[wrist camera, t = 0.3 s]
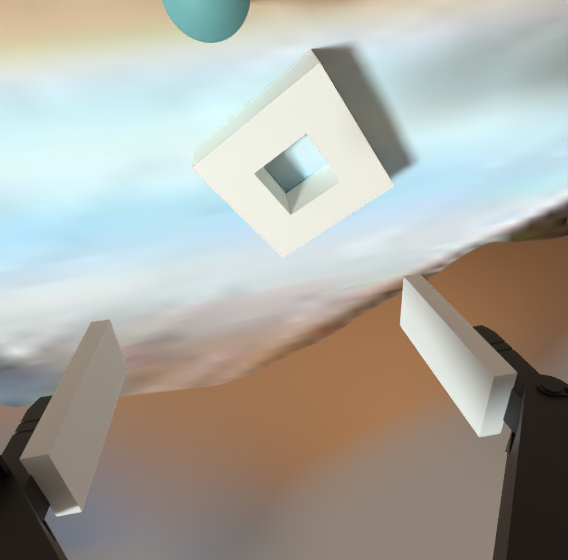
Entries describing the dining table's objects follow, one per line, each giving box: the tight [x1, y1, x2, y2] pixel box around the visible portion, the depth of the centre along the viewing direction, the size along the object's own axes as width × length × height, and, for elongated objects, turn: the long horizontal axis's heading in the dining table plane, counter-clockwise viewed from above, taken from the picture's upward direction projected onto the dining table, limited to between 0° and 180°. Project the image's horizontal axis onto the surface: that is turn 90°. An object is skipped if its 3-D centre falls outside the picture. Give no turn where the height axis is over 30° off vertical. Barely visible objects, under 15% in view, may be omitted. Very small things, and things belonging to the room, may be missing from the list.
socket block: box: [192, 49, 394, 258], centre depth 38 cm, size 14×14×4 cm
